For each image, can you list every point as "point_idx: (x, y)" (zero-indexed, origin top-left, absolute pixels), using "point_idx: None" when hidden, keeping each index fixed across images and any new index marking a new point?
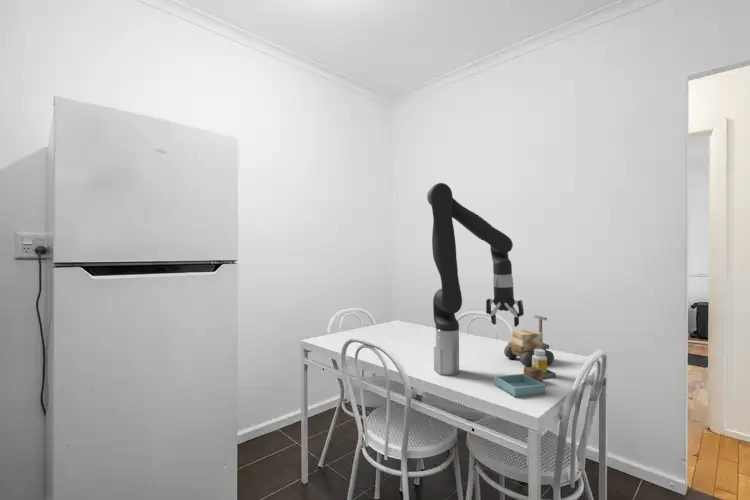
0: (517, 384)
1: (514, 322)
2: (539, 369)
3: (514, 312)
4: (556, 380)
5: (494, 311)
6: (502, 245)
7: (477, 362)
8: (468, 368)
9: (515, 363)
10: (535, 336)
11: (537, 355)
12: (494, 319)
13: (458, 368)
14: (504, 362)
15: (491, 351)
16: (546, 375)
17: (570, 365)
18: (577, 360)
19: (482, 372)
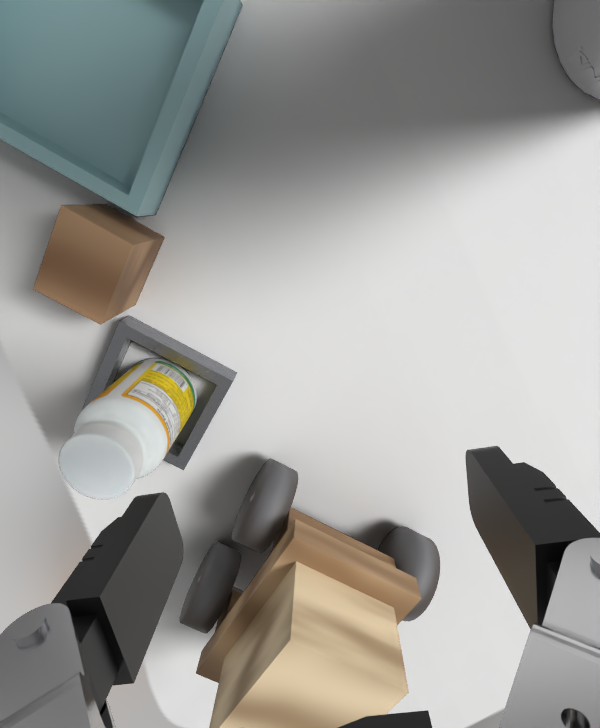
0: (130, 105)
1: (134, 527)
2: (45, 278)
3: (8, 711)
4: (60, 365)
5: (583, 643)
6: None
7: (531, 358)
8: (533, 201)
9: (341, 481)
10: (237, 687)
11: (106, 422)
12: (499, 502)
13: (571, 14)
14: (396, 460)
15: None
16: (101, 367)
17: None
18: (155, 676)
19: (420, 193)
